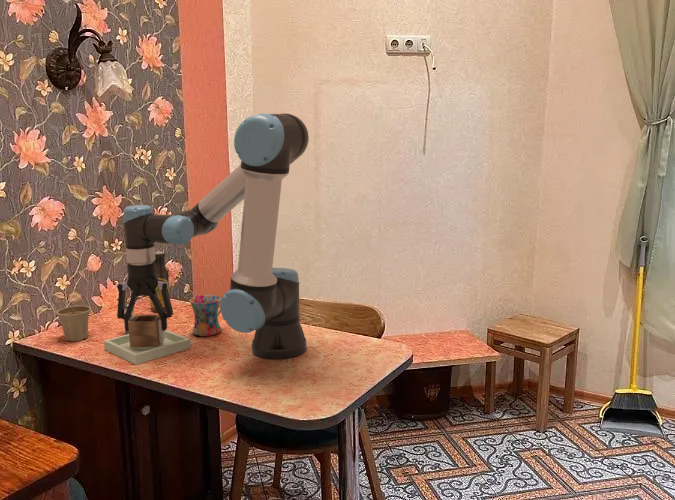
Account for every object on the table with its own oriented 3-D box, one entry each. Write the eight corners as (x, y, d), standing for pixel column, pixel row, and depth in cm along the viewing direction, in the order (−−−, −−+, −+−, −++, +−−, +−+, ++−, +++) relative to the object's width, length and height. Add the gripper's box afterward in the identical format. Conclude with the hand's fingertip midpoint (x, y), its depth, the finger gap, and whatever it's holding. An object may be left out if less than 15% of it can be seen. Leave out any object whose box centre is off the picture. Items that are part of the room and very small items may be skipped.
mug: (206, 340, 193) (204, 305, 190) (184, 334, 198) (182, 300, 196) (235, 329, 202) (234, 295, 200) (213, 324, 207) (212, 291, 205)
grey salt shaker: (138, 333, 200) (136, 304, 198) (127, 336, 197) (125, 306, 195) (132, 330, 202) (130, 301, 200) (121, 333, 200) (119, 304, 198)
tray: (190, 348, 186) (190, 339, 186) (135, 364, 175) (135, 355, 174) (158, 334, 198) (157, 326, 198) (104, 349, 186) (104, 340, 186)
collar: (164, 337, 190) (162, 314, 188) (157, 346, 182) (155, 322, 181) (137, 338, 190) (135, 314, 188) (130, 347, 182) (128, 322, 181)
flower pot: (53, 338, 196) (50, 310, 194) (84, 330, 203) (81, 303, 201) (68, 345, 190) (65, 316, 188) (99, 337, 196) (96, 309, 194)
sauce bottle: (147, 312, 220) (143, 254, 216) (155, 307, 226) (151, 250, 222) (166, 313, 219) (162, 254, 215) (173, 307, 225) (170, 250, 221)
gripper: (181, 258, 185) (186, 336, 190) (108, 259, 185) (114, 337, 189) (175, 264, 178) (181, 345, 182) (99, 265, 177) (106, 346, 182)
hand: (147, 341), depth 186 cm, fingers closed on collar, 7 cm apart
